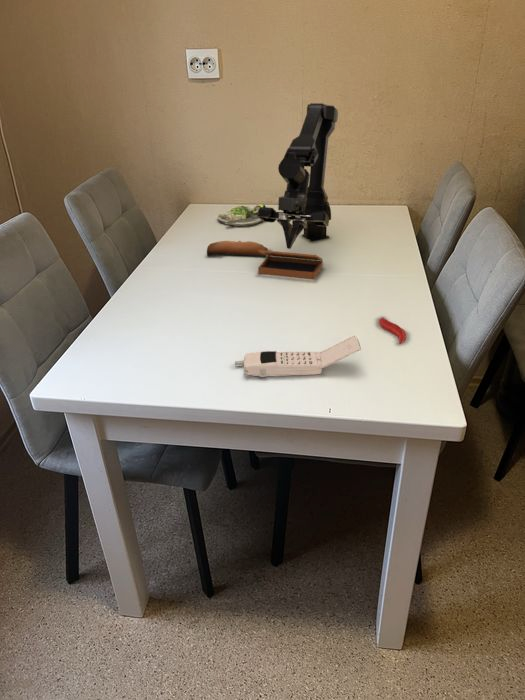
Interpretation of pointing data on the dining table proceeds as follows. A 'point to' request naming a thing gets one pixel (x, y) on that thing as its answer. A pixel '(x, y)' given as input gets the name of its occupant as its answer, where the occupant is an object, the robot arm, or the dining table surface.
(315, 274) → the wooden box
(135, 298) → the dining table surface
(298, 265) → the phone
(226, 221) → the salad plate
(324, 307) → the dining table surface
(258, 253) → the sunglasses case
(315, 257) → the cover
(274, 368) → the mobile phone
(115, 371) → the dining table surface
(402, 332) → the cayenne pepper
